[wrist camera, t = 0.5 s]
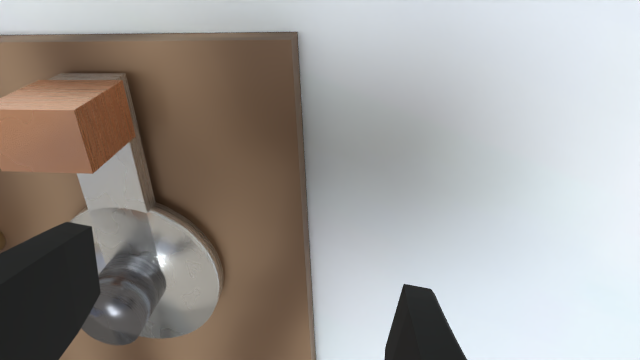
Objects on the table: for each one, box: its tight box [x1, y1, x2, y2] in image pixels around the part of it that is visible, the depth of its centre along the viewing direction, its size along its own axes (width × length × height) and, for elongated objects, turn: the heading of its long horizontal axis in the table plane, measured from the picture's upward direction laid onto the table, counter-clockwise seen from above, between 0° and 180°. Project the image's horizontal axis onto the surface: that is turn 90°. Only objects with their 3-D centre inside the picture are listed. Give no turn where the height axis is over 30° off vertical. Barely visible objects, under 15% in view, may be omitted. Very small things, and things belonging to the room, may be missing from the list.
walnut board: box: [0, 32, 316, 360], centre depth 19 cm, size 16×17×5 cm
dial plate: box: [0, 73, 224, 345], centre depth 18 cm, size 12×7×4 cm, turn 2°
